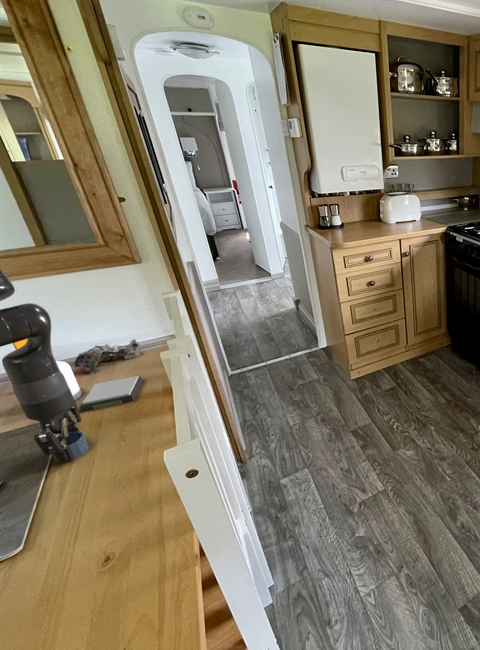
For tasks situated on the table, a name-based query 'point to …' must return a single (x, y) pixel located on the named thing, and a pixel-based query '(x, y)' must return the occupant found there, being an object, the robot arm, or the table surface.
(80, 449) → the bowl
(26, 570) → the table surface
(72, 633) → the table surface
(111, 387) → the scale
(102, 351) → the foil
